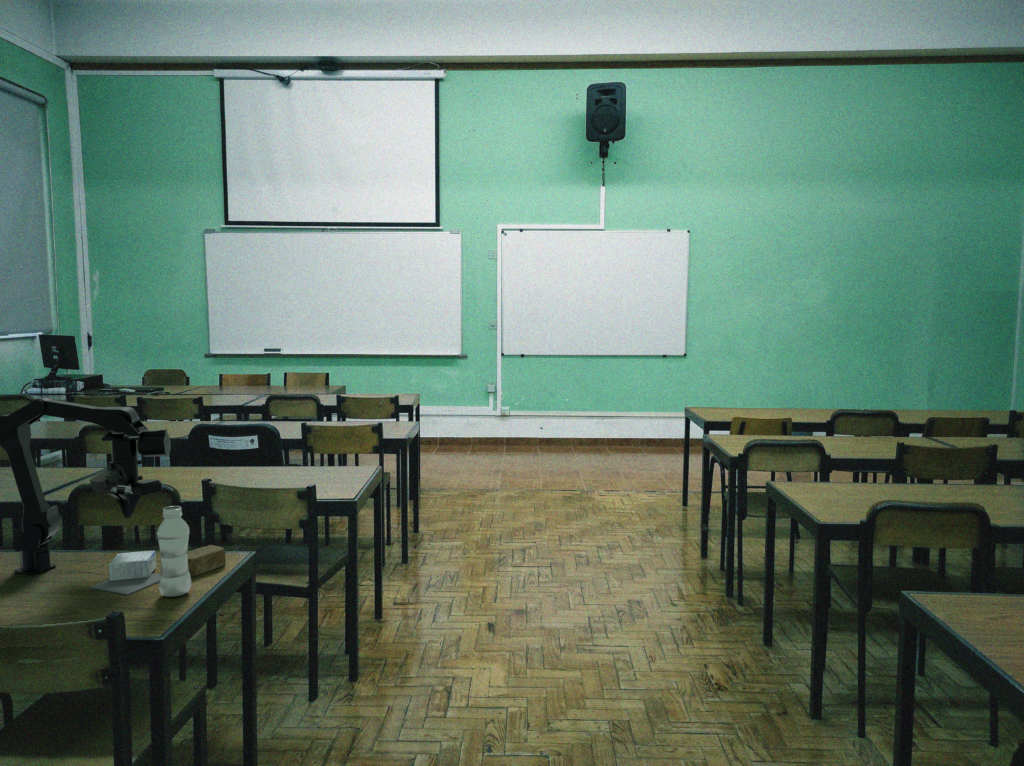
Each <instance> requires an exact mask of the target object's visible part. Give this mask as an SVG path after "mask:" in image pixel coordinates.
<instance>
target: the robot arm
mask: <svg viewBox="0 0 1024 766" xmlns="http://www.w3.org/2000/svg"><path fill="white" fill-rule="evenodd" d="M44 416H48V417H54V418H59V419H66V420H73V421H77V422H84V423H85V422H86V423H91V424H93V425H94V424H95V425H97V426H99V427H101V428H103V429H106V430H108V431H107V433H106V434H105V435H103V437H101V439H100V440H101V442H105V441H106V442H108V441H110V447H111V461H110V462H107V465H106V470H104V471H101V472H99V473H98V474H96V475H94V476H93V477H91V478H90V479H89V484H90V490H93V493H94V492H95V493H97V492H98V493H103V494H107V495H110V496H111V497H113V498H115V500H116V501H117V504H118V506H119V508H120V511H121V513H122V515H123V517H124V518H125V519H129V518H131V517H132V515H133V513H134V511H135V508H136V507H137V504H138V503H139V501H140V499H141V497H142V496H146V495H150V494H154V493H159V492H161V491H163V482H161V480H159V479H153V478H147V479H143V475H139V465H142V464H143V459H139V457H138V453H139V454H140V455H142V457H146V458H147V457H169V456H170V453H171V447H172V445H171V444H172V441H171V440H170V436H169V434H168V428H161V429H153V430H152V429H150V430H149V428H148V427H147V426H146V425H145V424H144V423H143V421H141V420H140V417H139V416H140V415H139V414H138V412H137V411H136V409H135V408H133V407H130V406H103V407H102V406H94V405H89V404H88V405H87V404H83V403H81V404H80V403H75V402H70V401H69V402H68V401H63V400H57V399H52V398H49V397H40V398H36V399H32V401H31V402H30V403H28V404H26V405H24V406H23V407H21V408H19V409H17V410H15V411H12V412H11V413H9V414H4V415H0V448H2V449H3V451H4V452H5V453H6V456H7V457H8V460H9V464H10V468H11V471H12V474H13V478H14V481H15V484H16V488H17V490H18V494H19V497H20V500H21V504H22V507H23V510H22V511H23V512H22V517H21V529H22V533H21V534H20V535H19V536H18V537H17V538H16V539H15V540H14V541H13V542H12V543H11V545H12V547H13V549H14V551H15V552H19V566H20V567H19V568H16V569H14V570H13V572H14V573H18V574H24V575H29V576H33V575H36V574H38V573H42V572H44V571H47V570H48V571H49V570H51V569H53V568H56V567H57V564H54V563H51V552H50V545H49V543H48V542H49V541H51V540H52V539H53V537H54V535H55V534H56V533H58V531H59V529H60V527H61V521H62V520H63V518H62V517H61V515H60V512H59V508H58V504H57V505H53V506H51V505H50V504H49V503H48V501H46V499H45V495H44V492H43V488H42V485H41V481H40V478H39V475H38V472H37V468H36V465H35V462H34V459H33V455H32V452H31V448H30V445H31V444H30V443H31V438H32V430H31V425H33V424H34V423H36V422H37V421H39V420H41V418H43V417H44Z"/></svg>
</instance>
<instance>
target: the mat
mask: <svg viewBox="0 0 1024 766" xmlns="http://www.w3.org/2000/svg"><path fill="white" fill-rule="evenodd" d="M160 574H161V573H154V572H152V573H151V575H150V576H149V577H147V578H137V579H127V580H116V581H110V580H109V579H106V580H104V581H101V582H98V583H96V584H93V585H91V586H89V589H92V590H97V591H101V592H102V591H103V592H108V593H113V594H114V593H115V594H119V595H124V596H129V595H132V594H135V593H137V592H139V591H142V590H144V589H146V588H148V587H151V586H153V585H155V584H159V579H160V576H161V575H160Z"/></svg>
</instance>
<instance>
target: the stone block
mask: <svg viewBox="0 0 1024 766" xmlns="http://www.w3.org/2000/svg"><path fill="white" fill-rule="evenodd" d="M187 554H188V557H187V559H188V567H189V573H190V576H191V578H193V577H197V576H198V575H202V574H205V573H208V572H211V571H213V570H216V569H219V568H221V567H224V566H225V565H226V563H227V560H226V559H227V558H226V549H225V548H224V547H222V546H217V545H214V544H209V545H206V546H202V547H199V548H195V549H194V550H193V549H192V550H190V551H188V552H187Z"/></svg>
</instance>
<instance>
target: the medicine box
mask: <svg viewBox="0 0 1024 766" xmlns="http://www.w3.org/2000/svg"><path fill="white" fill-rule="evenodd" d="M156 554H157V553H156V550H144V551H133V552H130V551H129V552H121V553H117V554H116V555H115V556H114V558H112V560H111V561H110V562H109V563H108V580H110V581H116V580H127V579H137V578H147V577H149V576H150V575H151V573H154V570H155V569H156V567H157V556H156Z"/></svg>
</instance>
